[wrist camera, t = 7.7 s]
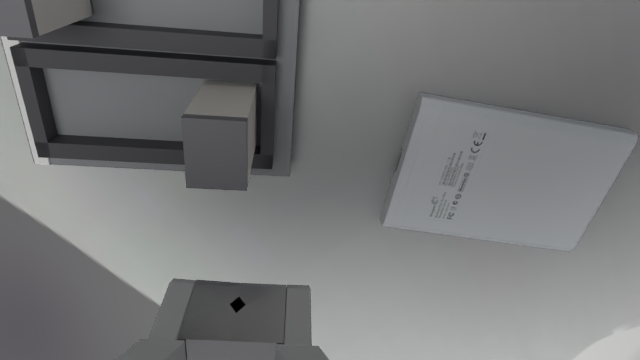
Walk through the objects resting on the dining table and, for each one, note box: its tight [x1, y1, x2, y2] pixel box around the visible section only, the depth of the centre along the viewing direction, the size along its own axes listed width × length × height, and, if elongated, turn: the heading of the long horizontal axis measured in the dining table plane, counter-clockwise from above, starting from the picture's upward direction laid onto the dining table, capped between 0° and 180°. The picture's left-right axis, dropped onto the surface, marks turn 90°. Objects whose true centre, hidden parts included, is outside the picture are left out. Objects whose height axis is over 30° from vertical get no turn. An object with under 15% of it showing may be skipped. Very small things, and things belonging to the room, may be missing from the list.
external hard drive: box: [380, 92, 638, 252], centre depth 25 cm, size 2×8×12 cm
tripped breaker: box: [181, 80, 257, 191], centre depth 19 cm, size 2×3×5 cm
